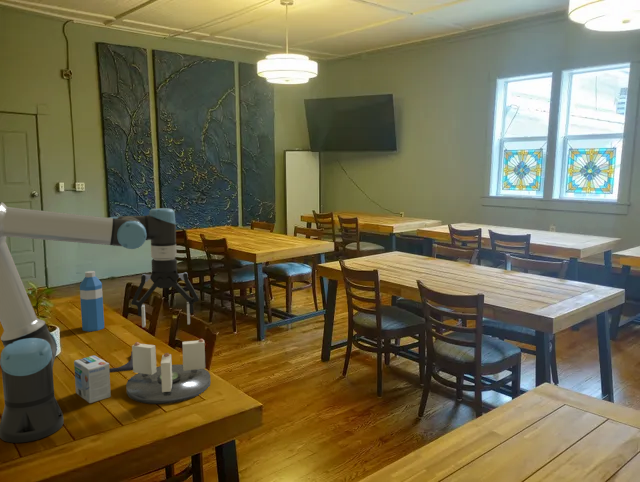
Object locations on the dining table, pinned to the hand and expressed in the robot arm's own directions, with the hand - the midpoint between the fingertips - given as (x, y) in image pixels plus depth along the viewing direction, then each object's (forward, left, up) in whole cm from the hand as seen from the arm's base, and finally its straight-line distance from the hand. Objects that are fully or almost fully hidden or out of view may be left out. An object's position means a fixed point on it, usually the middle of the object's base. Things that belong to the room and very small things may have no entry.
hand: (166, 324), depth 164 cm
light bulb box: (-15, +16, -21) cm, 31 cm away
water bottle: (+31, +72, -21) cm, 81 cm away
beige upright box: (+9, -3, -18) cm, 21 cm away
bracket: (+10, +26, -22) cm, 35 cm away
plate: (+1, 0, -21) cm, 21 cm away
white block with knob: (-6, -6, -18) cm, 20 cm away
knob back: (-1, +9, -18) cm, 20 cm away
